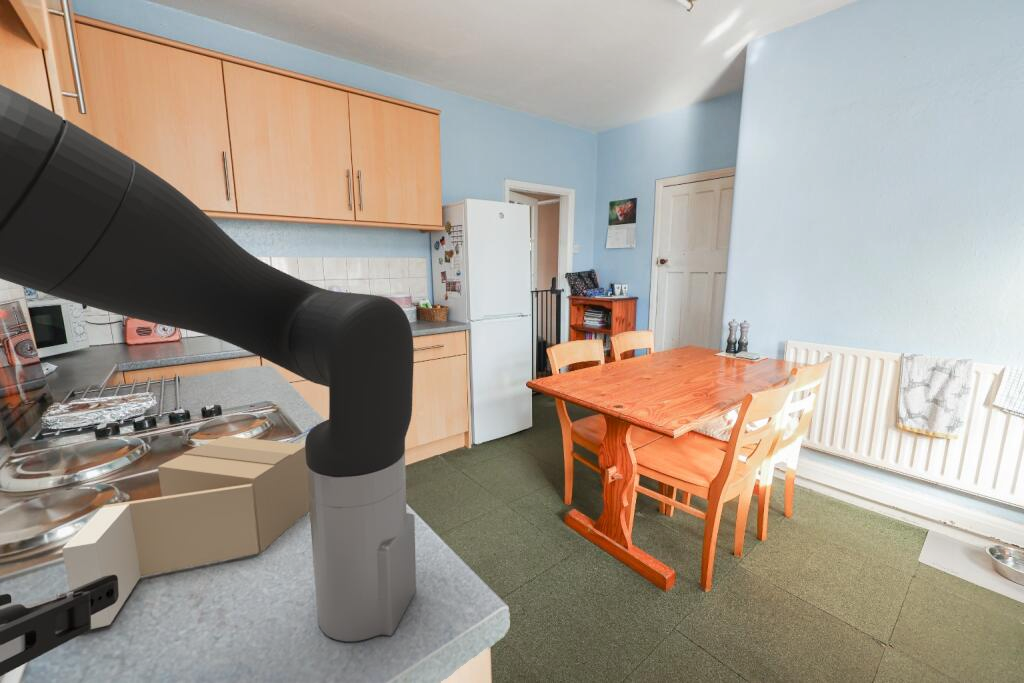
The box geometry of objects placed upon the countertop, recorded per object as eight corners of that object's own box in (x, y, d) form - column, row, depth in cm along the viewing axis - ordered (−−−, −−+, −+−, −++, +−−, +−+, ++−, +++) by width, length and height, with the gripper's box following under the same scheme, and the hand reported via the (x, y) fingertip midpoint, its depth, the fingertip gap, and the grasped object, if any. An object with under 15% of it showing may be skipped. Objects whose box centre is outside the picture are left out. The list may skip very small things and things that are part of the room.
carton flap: (258, 550, 53) (252, 483, 51) (245, 594, 46) (237, 518, 44) (116, 578, 48) (104, 505, 46) (78, 632, 41) (62, 548, 39)
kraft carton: (312, 508, 63) (307, 443, 61) (260, 552, 53) (253, 477, 52) (230, 496, 66) (223, 434, 64) (167, 537, 56) (157, 464, 54)
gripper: (-167, 646, 19) (147, 532, 35) (-502, 706, 18) (-30, 564, 35) (-175, 839, 18) (152, 630, 34) (-530, 907, 17) (-30, 664, 33)
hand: (60, 597), depth 34 cm, fingers open, 8 cm apart
